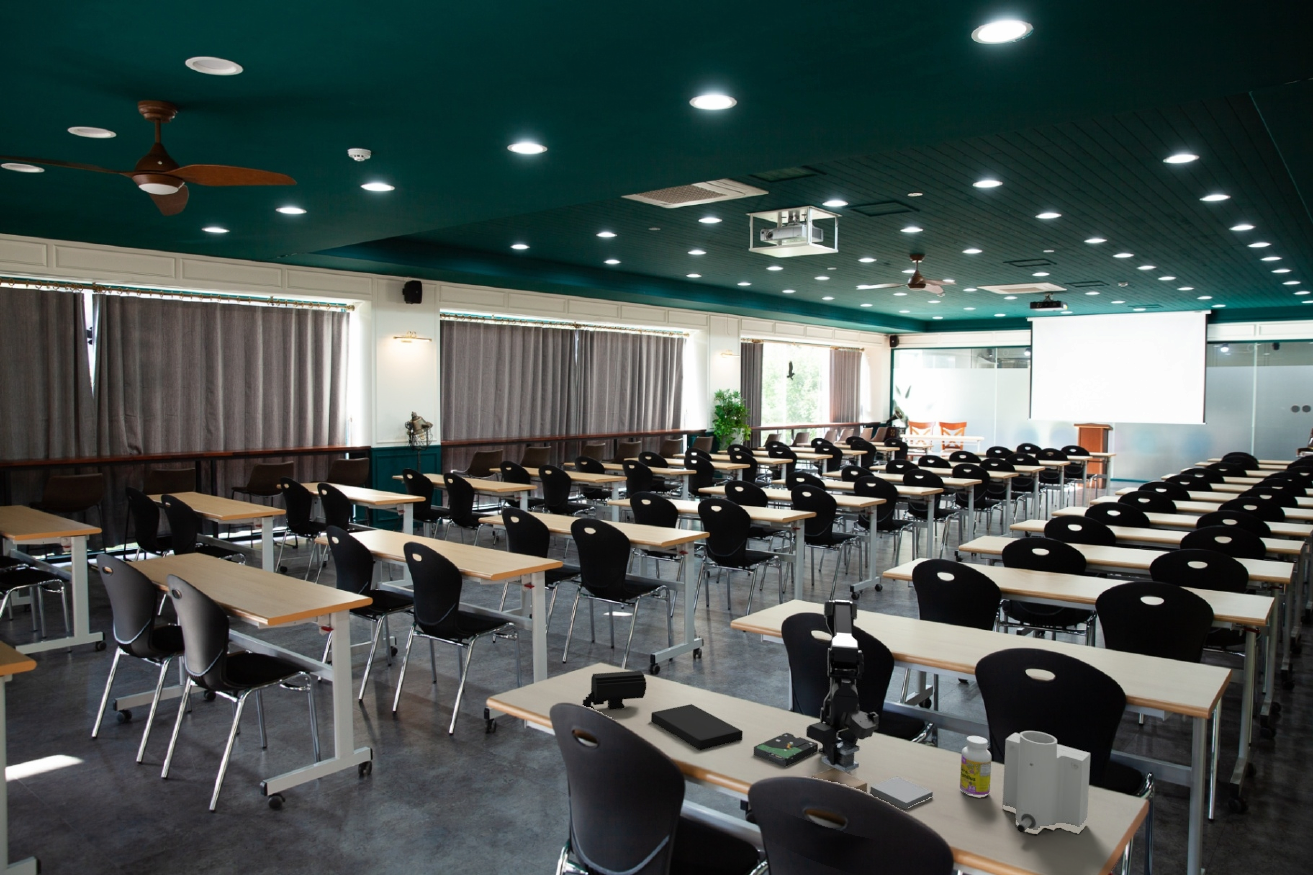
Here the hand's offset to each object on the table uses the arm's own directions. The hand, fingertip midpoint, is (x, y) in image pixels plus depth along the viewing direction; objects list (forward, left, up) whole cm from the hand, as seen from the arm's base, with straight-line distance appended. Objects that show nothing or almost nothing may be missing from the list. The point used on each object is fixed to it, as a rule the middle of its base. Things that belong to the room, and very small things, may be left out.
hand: (840, 762), depth 202 cm
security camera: (-72, -15, -6) cm, 74 cm away
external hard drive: (-46, -6, -7) cm, 47 cm away
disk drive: (-21, +4, -7) cm, 23 cm away
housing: (0, 0, 0) cm, 0 cm away
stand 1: (0, 0, -6) cm, 6 cm away
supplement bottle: (+20, +25, -6) cm, 33 cm away
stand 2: (+11, +9, -6) cm, 15 cm away
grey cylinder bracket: (+37, +21, -6) cm, 43 cm away
